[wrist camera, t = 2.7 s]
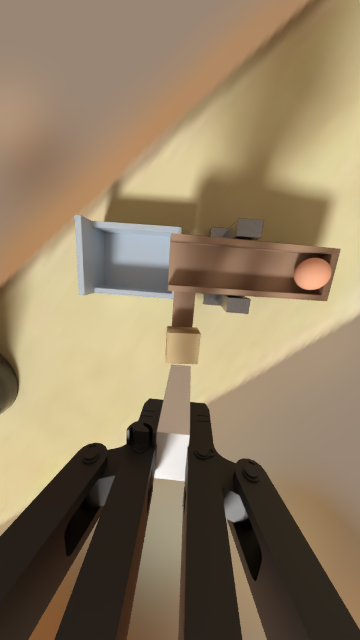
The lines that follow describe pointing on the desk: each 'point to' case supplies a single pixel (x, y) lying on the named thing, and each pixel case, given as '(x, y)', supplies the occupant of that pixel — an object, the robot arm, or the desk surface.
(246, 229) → the fulcrum
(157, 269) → the bin
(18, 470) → the desk surface
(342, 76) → the desk surface
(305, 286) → the ball
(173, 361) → the lever
